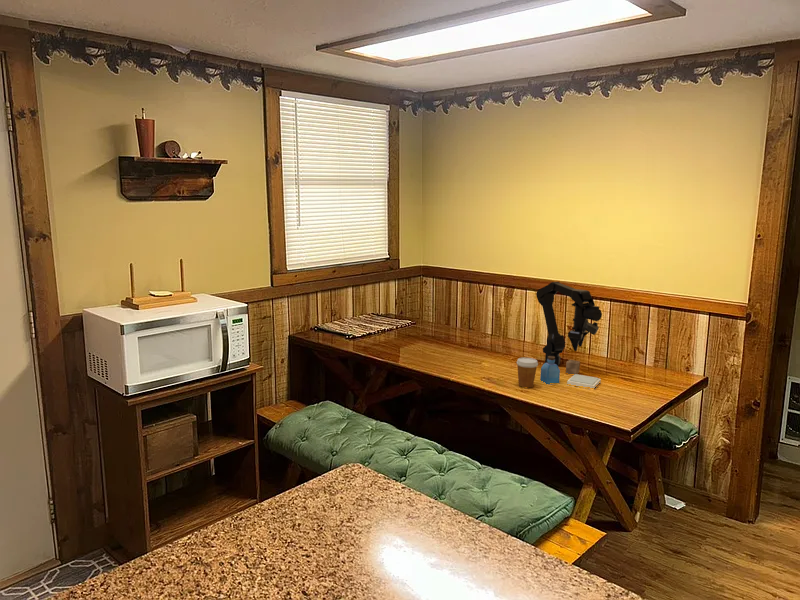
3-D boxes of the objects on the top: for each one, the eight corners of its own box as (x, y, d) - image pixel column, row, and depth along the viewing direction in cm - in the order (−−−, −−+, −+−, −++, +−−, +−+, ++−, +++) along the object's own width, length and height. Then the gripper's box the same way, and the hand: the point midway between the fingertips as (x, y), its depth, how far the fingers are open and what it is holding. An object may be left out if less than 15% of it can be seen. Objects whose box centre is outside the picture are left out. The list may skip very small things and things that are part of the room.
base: (566, 385, 280) (567, 379, 280) (574, 378, 290) (574, 373, 290) (593, 390, 274) (594, 384, 273) (600, 383, 284) (600, 377, 283)
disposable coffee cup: (521, 381, 284) (523, 356, 282) (540, 385, 278) (542, 360, 276) (511, 386, 277) (512, 360, 275) (530, 390, 271) (532, 364, 269)
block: (565, 374, 297) (566, 362, 296) (568, 371, 301) (569, 359, 300) (576, 376, 294) (576, 363, 293) (578, 373, 298) (579, 361, 297)
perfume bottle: (546, 384, 280) (548, 359, 278) (540, 380, 286) (541, 355, 284) (559, 383, 282) (560, 358, 280) (552, 379, 288) (554, 354, 286)
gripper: (593, 322, 280) (590, 356, 283) (602, 315, 296) (599, 347, 299) (568, 319, 286) (566, 352, 289) (578, 312, 302) (576, 343, 305)
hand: (577, 348), depth 295 cm, fingers open, 9 cm apart
